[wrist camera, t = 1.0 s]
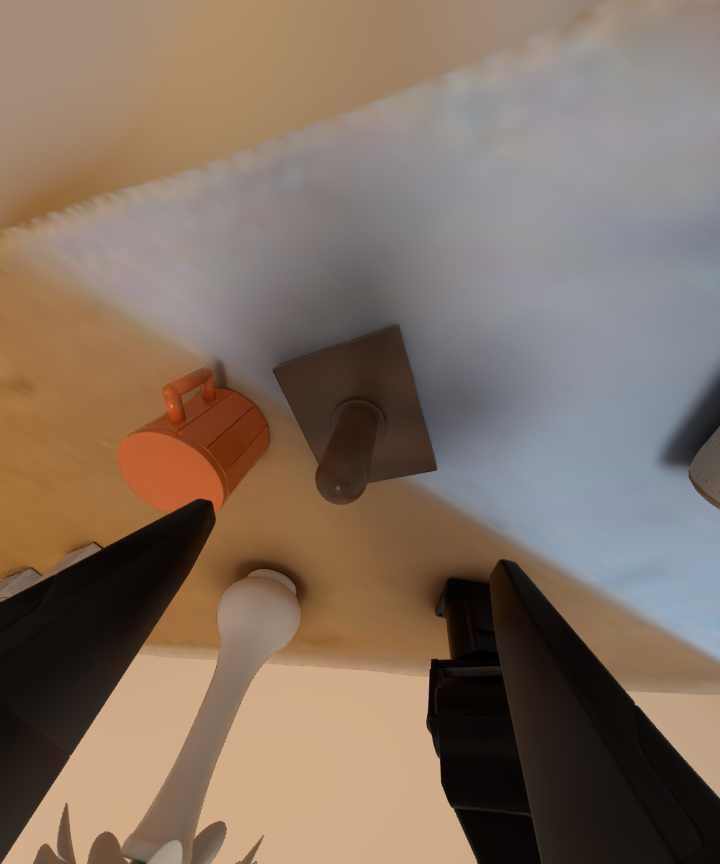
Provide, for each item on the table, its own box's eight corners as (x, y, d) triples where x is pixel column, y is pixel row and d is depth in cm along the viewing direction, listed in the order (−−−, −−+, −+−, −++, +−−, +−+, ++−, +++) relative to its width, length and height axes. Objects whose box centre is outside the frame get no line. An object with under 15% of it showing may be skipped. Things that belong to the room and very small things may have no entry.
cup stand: (436, 461, 23) (450, 559, 15) (334, 481, 26) (302, 574, 18) (398, 323, 18) (392, 364, 11) (278, 364, 21) (202, 421, 13)
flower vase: (243, 622, 41) (58, 1021, 19) (205, 529, 32) (-228, 1092, 10) (333, 635, 39) (242, 1091, 17) (321, 541, 30) (98, 1252, 8)
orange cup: (271, 467, 26) (230, 527, 20) (197, 454, 26) (135, 510, 20) (264, 367, 21) (207, 406, 15) (174, 354, 22) (85, 387, 16)
